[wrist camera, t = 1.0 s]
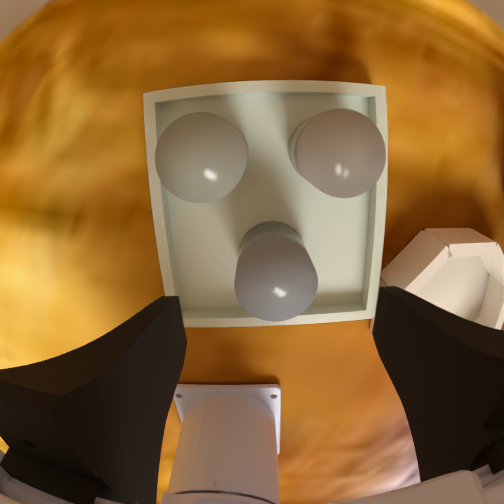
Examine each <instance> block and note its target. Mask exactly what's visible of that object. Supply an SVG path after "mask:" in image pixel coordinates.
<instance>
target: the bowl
mask: <svg viewBox="0 0 504 504" xmlns="http://www.w3.org/2000/svg"><path fill="white" fill-rule="evenodd" d="M380 276H381V277H380V280H379V287H385V286H397V287H399V288H402V289H404V290H406V291H408V292H410V293H412V294H414V295H416V296H418V297H420V298H422V299H424V300H426V301H428V302H430V303H432V304H434V305H436V306H438V307H440V308H442V309H444V310H446V311H449V312H451V313H453V314H455V315H457V316H460V317H462V318H465V319H467V320H470V321H473V322H476V323H478V324H481V325H484V326H488V327H491V328H495V329H499V330H501V327H502V324H503V321H504V255H503V252H502V250H501V248H500V246H499V244H498V243H497V242H495V241H493V240H492V239H490V238H488V237H486V236H484V235H482V234H481V233H479V232H477V231H475V230H473V229H471V228H425V229H424V231H423V230H421V231H420V232H419V233H418V234H417V235H416V236H415V237H414V238H413V239H412V241H411V242H410V243H409V244H408V245H407V246H406V247H405V248H404V249H403V250H402V251H401V252H400V253H399V254H398V255H397V256H396V257H395V258H394V259H393V260H392V261H391V262H390V263H389V264H388V265H387V266H386V267H385V268H384V269H383V270H382V271H381V272H380ZM378 294H379V288H378ZM377 301H378V295H377ZM376 307H377V302H376ZM375 314H376V309H375ZM374 320H375V315H374V318H371V322H370V328H369V330H370V333H371V335H372V331H373V325H374ZM372 337H373V335H372ZM373 339H374V338H373Z"/></svg>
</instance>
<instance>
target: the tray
mask: <svg viewBox="0 0 504 504" xmlns="http://www.w3.org/2000/svg"><path fill="white" fill-rule="evenodd" d="M143 107H144V126H145V142H146V155H147V167H148V177H149V187H150V196H151V205H152V214H153V221H154V229H155V236H156V243H157V250H158V257H159V263H160V269H161V275H162V281H163V287H164V292H165V296H179V300H180V306H181V312H182V318H183V323H184V327H249V326H275V325H295V324H311V323H325V322H338V321H350V320H361V319H371V318H374V315H375V309H376V302H377V295H378V288H379V280H380V272H381V263H382V254H383V243H384V231H385V217H386V199H387V168H388V135H387V105H386V88H385V86H380V85H372V84H362V83H350V82H336V81H314V80H260V81H239V82H224V83H213V84H202V85H193V86H185V87H178V88H171V89H164V90H158V91H152V92H146V93H143ZM337 108H344V109H351V110H354V111H357V112H359V113H361V114H363V115H365V116H366V117H368V118H369V119H370V120H371V121H372V122H373V123H374V124H375V125H376V127H377V128H378V129H379V131H380V133H381V135H382V137H383V140H384V143H385V148H386V161H385V166H384V170H383V172H382V174H381V176H380V178H379V180H378V181H377V182H376V184H375V185H374V186H373V187H372V188H371V189H369V190H368V191H366V192H365V193H363V194H361V195H359V196H356V197H351V198H337V197H332V196H329V195H327V194H325V193H323V192H321V191H320V190H318V189H317V188H316V187H314V186H313V185H312V184H310V183H309V182H308V181H307V180H305V179H304V178H303V177H302V176H300V175H299V174H298V173H297V172H296V170H295V169H294V167H293V165H292V164H291V161H290V158H289V152H288V145H289V140H290V137H291V135H292V132H293V131H294V129H295V128H296V127H297V126H298V125H299V124H300V123H301V122H303V121H304V120H306V119H308V118H310V117H313V116H315V115H318V114H320V113H322V112H325V111H328V110H331V109H337ZM194 112H209V113H213V114H216V115H219V116H221V117H223V118H225V119H227V120H228V121H229V122H231V123H232V124H233V125H234V126H236V127H237V128H238V129H239V130H240V131H241V132H242V134H243V135H244V137H245V139H246V142H247V145H248V151H249V153H248V161H247V165H246V167H245V170H244V173H243V175H242V177H241V179H240V181H239V182H238V184H237V185H236V186H235V188H234V189H233V190H232V191H231V192H229V193H228V194H227V195H225V196H224V197H222V198H220V199H218V200H215V201H212V202H208V203H192V202H188V201H184V200H182V199H180V198H178V197H176V196H175V195H173V194H172V193H171V192H170V191H168V190H167V189H166V187H165V186H164V185H163V183H162V182H161V180H160V178H159V176H158V174H157V170H156V166H155V150H156V146H157V143H158V140H159V138H160V136H161V134H162V133H163V131H164V130H165V129H166V128H167V127H168V126H169V124H171V123H172V122H173V121H174V120H176V119H178V118H179V117H181V116H184V115H186V114H189V113H194ZM268 221H277V222H282V223H285V224H287V225H289V226H291V227H292V228H293V229H295V230H296V231H297V232H298V234H299V235H300V237H301V238H302V240H303V243H304V245H305V247H306V249H307V251H308V254H309V256H310V258H311V260H312V263H313V265H314V267H315V269H316V272H317V276H318V289H317V293H316V296H315V298H314V300H313V301H312V303H311V304H310V306H309V307H308V308H307V309H306V310H305V311H304V312H302V313H301V314H299V315H298V316H296V317H294V318H291V319H288V320H285V321H278V322H272V321H265V320H261V319H258V318H256V317H254V316H252V315H251V314H249V313H248V312H247V311H246V310H244V308H243V307H242V306H241V305H240V303H239V302H238V300H237V297H236V294H235V289H234V281H235V274H236V267H237V260H238V253H239V246H240V243H241V240H242V238H243V237H244V235H245V234H246V233H247V232H248V231H249V230H250V229H251V228H252V227H254V226H256V225H258V224H260V223H263V222H268Z"/></svg>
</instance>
